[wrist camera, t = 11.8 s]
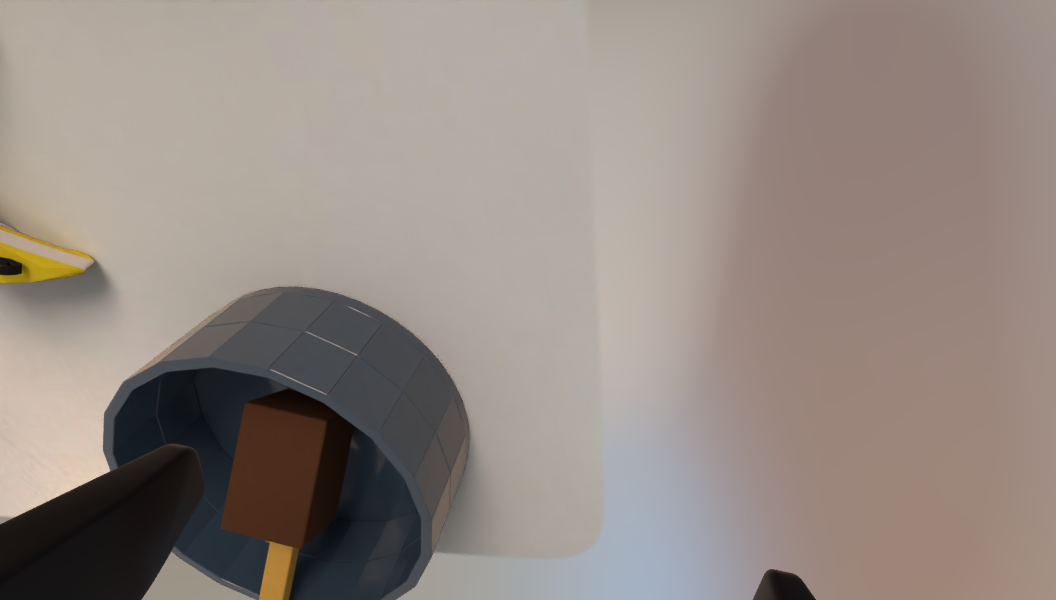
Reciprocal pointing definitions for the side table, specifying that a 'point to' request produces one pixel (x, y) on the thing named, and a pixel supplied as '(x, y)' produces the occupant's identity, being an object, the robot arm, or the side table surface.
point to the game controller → (36, 259)
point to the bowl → (343, 385)
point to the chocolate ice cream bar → (286, 479)
